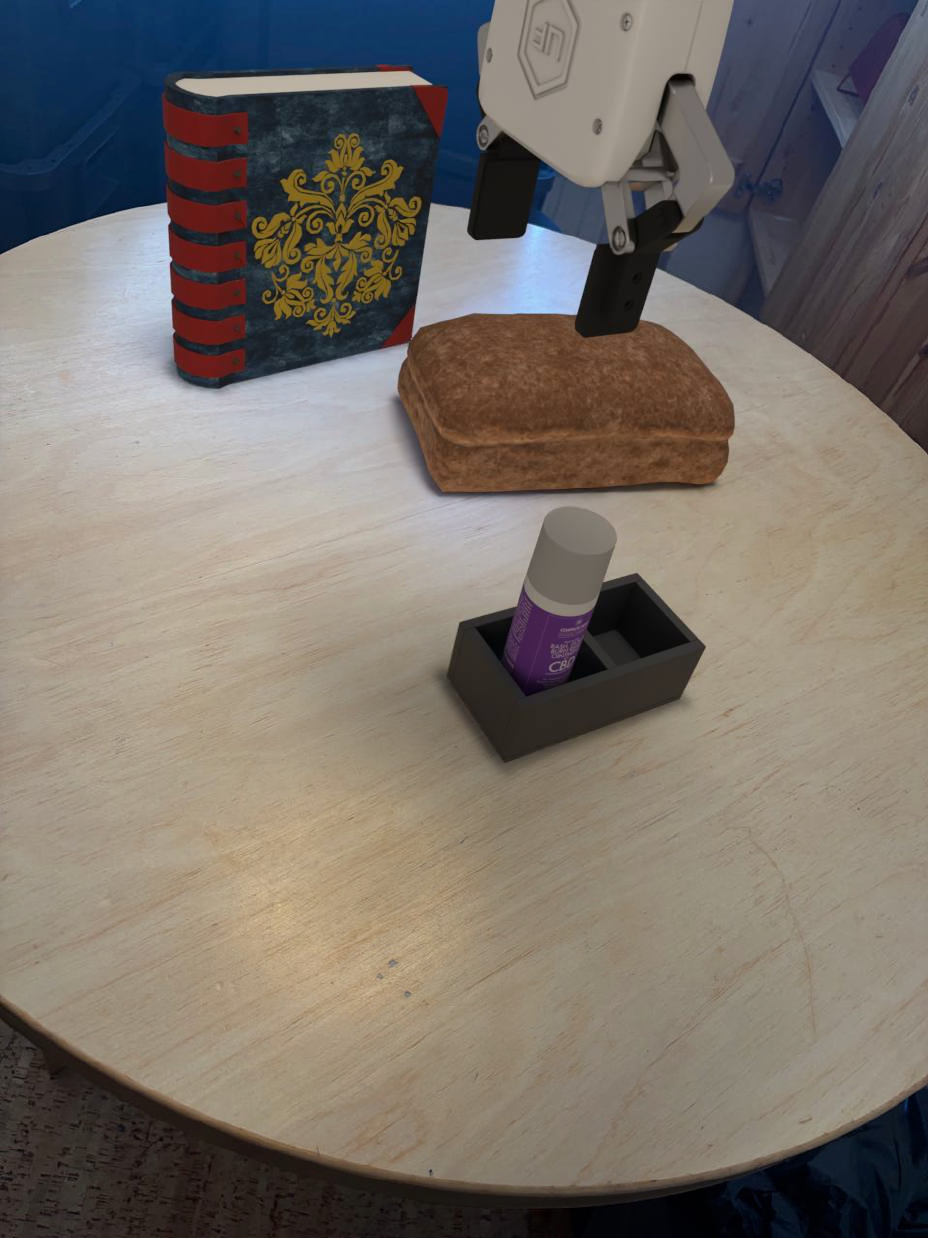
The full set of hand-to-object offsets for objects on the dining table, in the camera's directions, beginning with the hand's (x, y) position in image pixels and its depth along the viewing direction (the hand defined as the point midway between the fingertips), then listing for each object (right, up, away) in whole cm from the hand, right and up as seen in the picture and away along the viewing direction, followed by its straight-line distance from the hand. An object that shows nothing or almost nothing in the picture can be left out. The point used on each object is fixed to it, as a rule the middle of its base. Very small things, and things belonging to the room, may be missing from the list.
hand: (546, 281), depth 45 cm
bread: (+5, +1, +46) cm, 46 cm away
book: (-21, +11, +50) cm, 55 cm away
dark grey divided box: (+3, -21, +23) cm, 31 cm away
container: (0, -22, +21) cm, 30 cm away
